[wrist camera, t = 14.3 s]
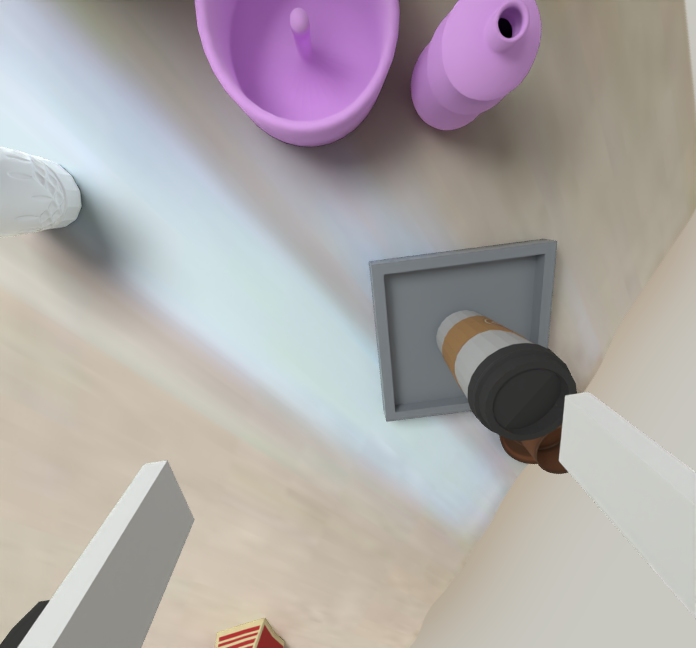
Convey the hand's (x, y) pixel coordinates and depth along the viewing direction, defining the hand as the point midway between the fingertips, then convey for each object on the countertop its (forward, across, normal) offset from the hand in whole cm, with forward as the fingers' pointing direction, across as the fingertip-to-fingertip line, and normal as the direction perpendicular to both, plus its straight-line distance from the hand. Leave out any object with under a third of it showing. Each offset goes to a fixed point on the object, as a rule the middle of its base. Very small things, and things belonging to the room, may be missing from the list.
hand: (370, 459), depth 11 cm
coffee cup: (+28, +13, -9) cm, 32 cm away
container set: (+30, +5, +19) cm, 36 cm away
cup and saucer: (+28, +24, -25) cm, 44 cm away
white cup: (+29, -28, +13) cm, 43 cm away
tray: (+28, +13, -10) cm, 33 cm away
